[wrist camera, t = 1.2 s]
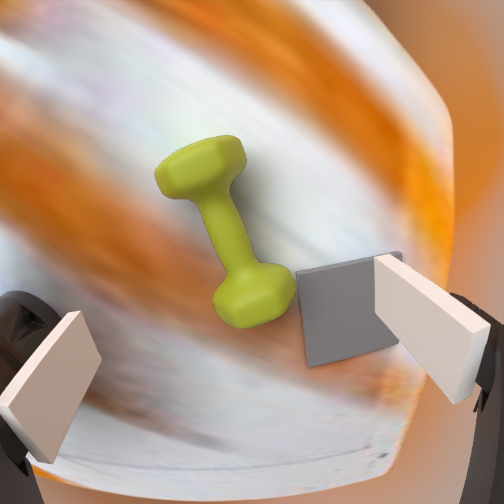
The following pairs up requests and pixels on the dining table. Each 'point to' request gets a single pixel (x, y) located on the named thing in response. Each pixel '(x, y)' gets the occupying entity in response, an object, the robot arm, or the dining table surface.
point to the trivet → (341, 311)
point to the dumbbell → (227, 230)
